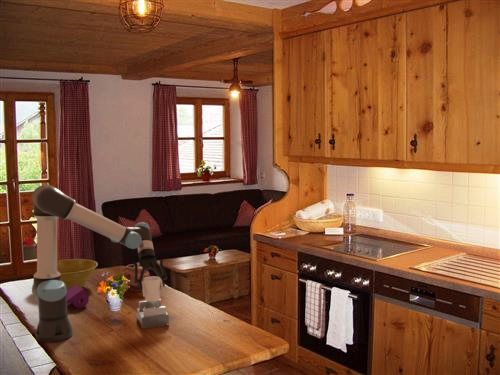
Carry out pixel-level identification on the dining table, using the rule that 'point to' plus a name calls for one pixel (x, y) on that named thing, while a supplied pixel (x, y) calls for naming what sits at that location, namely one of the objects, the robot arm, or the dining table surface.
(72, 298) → the purple elongated rounded piece
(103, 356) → the dining table surface
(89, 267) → the planter bowl
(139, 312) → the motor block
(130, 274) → the decorative planter
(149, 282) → the white cup
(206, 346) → the dining table surface
